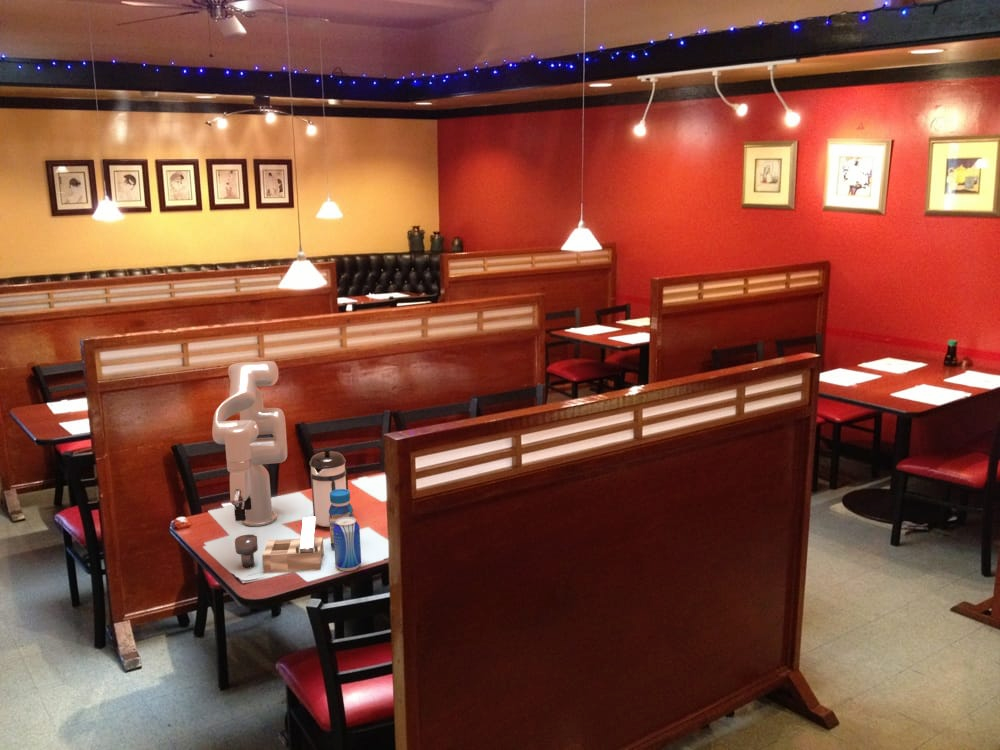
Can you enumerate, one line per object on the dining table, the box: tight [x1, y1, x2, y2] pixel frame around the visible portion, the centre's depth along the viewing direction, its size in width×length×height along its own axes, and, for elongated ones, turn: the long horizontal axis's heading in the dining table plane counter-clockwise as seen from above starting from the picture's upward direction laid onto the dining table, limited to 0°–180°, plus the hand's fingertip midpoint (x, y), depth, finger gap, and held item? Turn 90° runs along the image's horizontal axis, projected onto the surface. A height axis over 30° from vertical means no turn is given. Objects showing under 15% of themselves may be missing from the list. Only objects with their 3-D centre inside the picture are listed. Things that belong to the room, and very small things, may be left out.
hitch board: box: [262, 536, 325, 574], centre depth 278 cm, size 12×18×8 cm, turn 96°
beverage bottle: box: [329, 489, 355, 550], centre depth 289 cm, size 8×8×20 cm
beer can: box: [333, 517, 362, 572], centre depth 274 cm, size 8×8×16 cm
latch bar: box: [300, 516, 316, 553], centre depth 277 cm, size 14×4×2 cm
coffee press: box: [309, 446, 349, 529], centre depth 308 cm, size 17×16×30 cm
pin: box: [234, 534, 259, 569], centre depth 276 cm, size 7×7×10 cm
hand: (243, 514), depth 273 cm, fingers open, 9 cm apart
